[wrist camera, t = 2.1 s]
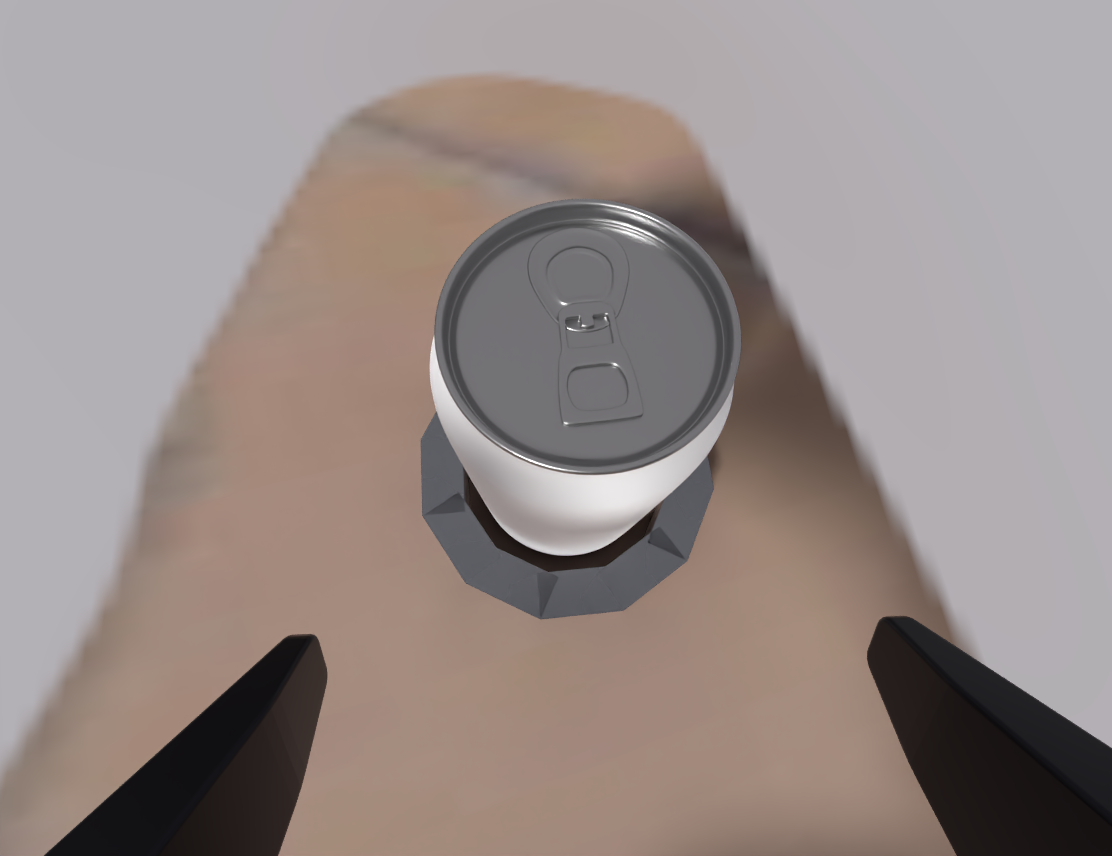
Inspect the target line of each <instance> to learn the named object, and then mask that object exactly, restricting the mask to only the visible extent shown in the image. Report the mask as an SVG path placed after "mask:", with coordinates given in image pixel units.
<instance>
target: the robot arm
mask: <svg viewBox="0 0 1112 856" xmlns="http://www.w3.org/2000/svg"><path fill="white" fill-rule="evenodd" d="M867 661H868V665H869V668H870V671H871V673H872V676H873V678H874V680H875V683H876V685H877V688H878V690H879V693H880V695H881V698H882V700H883V702H884V705H885V707H886V710H887V712H888V715H889V717H890V719H891V722H892V724H893V727H894V729H895V732H896V734H897V736H898V739H899V741H900V744H901V746H902V749H903V751H904V753H905V755H906V758H907V760H908V762H909V764H910V766H911V768H912V770H913V772H914V774H915V776H916V778H917V780H918V782H919V784H920V786H921V788H922V790H923V792H924V794H925V796H926V798H927V800H928V801H929V803H930V805H931V807H932V809H933V811H934V813H935V815H936V817H937V819H938V821H939V822H940V824H941V826H942V828H943V830H944V832H945V834H946V836H947V838H948V840H949V842H950V844H951V845H952V847H953V849H954V851H955V853H956V855H957V856H1112V748H1111V747H1109V746H1108V745H1106V744H1105V743H1103V742H1101V741H1100V740H1098V739H1097V738H1095V737H1094V736H1092V735H1091V734H1089V733H1088V732H1086V731H1085V730H1083V729H1081V728H1080V727H1079V726H1077V725H1075V724H1074V723H1072V722H1071V721H1069V720H1068V719H1066V718H1065V717H1063V716H1062V715H1060V714H1058V713H1057V712H1056V711H1054V710H1052V709H1051V708H1049V707H1048V706H1046V705H1045V704H1043V703H1042V702H1040V701H1039V700H1037V699H1036V698H1034V697H1033V696H1031V695H1029V694H1028V693H1026V692H1025V691H1023V690H1022V689H1020V688H1019V687H1017V686H1015V685H1014V684H1013V683H1011V682H1009V681H1008V680H1006V679H1005V678H1003V677H1002V676H1000V675H999V674H997V673H996V672H994V671H993V670H991V669H990V668H988V667H986V666H985V665H983V664H982V663H980V662H979V661H977V660H976V659H974V658H973V657H971V656H970V655H968V654H967V653H965V652H963V651H962V650H960V649H959V648H957V647H956V646H954V645H953V644H951V643H950V642H948V641H947V640H945V639H943V638H942V637H940V636H939V635H937V634H936V633H934V632H933V631H931V630H930V629H928V628H927V627H925V626H924V625H922V624H920V623H919V622H917V621H916V620H914V619H912V618H910V617H907V616H890V617H883V618H882V619H880V620H879V622H878V624H877V626H876V629H875V632H874V634H873V637H872V640H871V643H870V645H869V648H868V651H867ZM326 684H327V667H326V664H325V660H324V657H323V654H322V650H321V647H320V643H319V640H318V638H317V637H316V636H315V635H313V634H298V635H289V636H287V637H286V638H284V639H283V640H282V641H281V642H280V643H278V644H277V645H276V646H275V647H274V648H273V649H272V650H271V651H270V652H268V653H267V654H266V655H265V656H264V657H263V658H262V659H261V660H260V661H259V662H257V663H256V664H255V665H254V666H253V667H252V668H251V669H250V670H249V671H247V672H246V673H245V674H244V675H243V676H242V677H241V678H240V679H239V680H237V681H236V682H235V683H234V684H233V685H232V686H231V687H230V688H229V689H228V690H226V691H225V692H224V693H223V694H222V695H221V696H220V697H219V698H218V699H216V700H215V701H214V702H213V703H212V704H211V705H210V706H209V707H208V708H207V709H205V710H204V711H203V712H202V713H201V714H200V715H199V716H198V717H197V718H195V719H194V720H193V721H192V722H191V723H190V724H189V725H188V726H187V727H186V728H184V729H183V730H182V731H181V732H180V733H179V734H178V735H177V736H176V737H174V738H173V739H172V740H171V741H170V742H169V743H168V744H167V745H166V746H164V747H163V748H162V749H161V750H160V751H159V752H158V753H157V754H156V755H155V756H153V757H152V758H151V759H150V760H149V761H148V762H147V763H146V764H145V765H143V766H142V767H141V768H140V769H139V770H138V771H137V772H136V773H135V774H134V775H132V776H131V777H130V778H129V779H128V780H127V781H126V782H125V783H124V784H122V785H121V786H120V787H119V788H118V789H117V790H116V791H115V792H114V793H112V794H111V795H110V796H109V797H108V798H107V799H106V800H105V801H104V802H103V803H101V804H100V805H99V806H98V807H97V808H96V809H95V810H94V811H93V812H91V813H90V814H89V815H88V816H87V817H86V818H85V819H84V820H83V821H82V822H80V823H79V824H78V825H77V826H76V827H75V828H74V829H73V830H72V831H70V832H69V833H68V834H67V835H66V836H65V837H64V838H63V839H62V840H61V841H59V842H58V843H57V844H56V845H55V846H54V847H53V848H52V849H51V850H49V851H48V852H47V853H46V854H45V855H44V856H278V855H279V852H280V849H281V846H282V843H283V840H284V837H285V835H286V832H287V829H288V826H289V823H290V820H291V817H292V814H293V812H294V809H295V806H296V803H297V800H298V796H299V793H300V790H301V787H302V783H303V779H304V776H305V772H306V768H307V764H308V759H309V755H310V751H311V747H312V743H313V739H314V735H315V730H316V726H317V722H318V718H319V714H320V710H321V705H322V701H323V697H324V693H325V689H326Z"/></svg>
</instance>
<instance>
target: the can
mask: <svg viewBox="0 0 1112 856" xmlns="http://www.w3.org/2000/svg"><path fill="white" fill-rule="evenodd" d="M740 353H741V328H740V321H739V315H738V311H737V307H736V304H735V301H734V298H733V295H732V293H731V290H730V288H729V286H728V284H727V282H726V280H725V278H724V276H723V274H722V273H721V271H720V270H719V268H718V267H717V265H716V264H715V262H714V261H713V260H712V259H711V257H710V256H709V255H708V254H707V253H706V251H705V250H704V249H703V248H702V247H701V246H700V245H699V244H698V243H697V242H696V241H695V240H693V239H692V238H691V237H690V236H689V235H687V234H686V233H685V232H683V231H682V230H681V229H679V228H678V227H676V226H675V225H673V224H672V223H670V222H668V221H667V220H665V219H663V218H661V217H659V216H657V215H655V214H653V213H650V212H648V211H645V210H643V209H640V208H637V207H634V206H631V205H627V204H623V203H619V202H614V201H607V200H599V199H568V200H559V201H553V202H548V203H544V204H540V205H536V206H533V207H530V208H527V209H524V210H522V211H519V212H517V213H515V214H513V215H511V216H509V217H507V218H505V219H503V220H501V221H500V222H498V223H497V224H495V225H493V226H492V227H491V228H489V229H488V230H486V231H485V232H484V233H483V234H481V235H480V236H479V237H478V238H477V239H476V240H475V241H474V242H473V243H472V244H471V245H470V246H469V247H468V248H467V249H466V250H465V252H464V253H463V254H462V255H461V257H460V258H459V259H458V261H457V262H456V264H455V265H454V267H453V268H452V270H451V272H450V274H449V275H448V277H447V279H446V281H445V284H444V286H443V289H442V291H441V294H440V298H439V301H438V305H437V310H436V316H435V327H434V338H433V342H432V348H431V355H430V381H431V389H432V394H433V399H434V403H435V407H436V411H437V414H438V417H439V420H440V422H441V425H442V427H443V429H444V431H445V433H446V436H447V438H448V440H449V442H450V444H451V445H452V447H453V449H454V451H455V453H456V455H457V456H458V458H459V460H460V462H461V463H462V465H463V467H464V469H465V470H466V472H467V474H468V476H469V477H470V479H471V481H472V482H473V484H474V486H475V487H476V489H477V491H478V493H479V494H480V496H481V498H482V499H483V501H484V503H485V504H486V506H487V507H488V509H489V511H490V512H491V514H492V515H493V517H494V518H495V520H496V521H497V522H498V523H499V525H500V526H501V527H502V528H503V529H504V530H505V531H506V532H507V533H508V534H509V535H510V536H511V537H513V538H514V539H515V540H517V541H518V542H520V543H521V544H523V545H525V546H527V547H529V548H531V549H533V550H536V551H539V552H542V553H546V554H550V555H558V556H573V555H581V554H586V553H589V552H593V551H595V550H598V549H600V548H603V547H605V546H606V545H608V544H610V543H611V542H613V541H615V540H616V539H617V538H619V537H620V536H621V535H623V534H624V533H625V532H626V531H628V530H629V529H630V528H631V527H632V526H634V525H635V524H636V523H637V522H638V521H639V520H641V519H642V518H643V517H644V516H645V515H646V514H648V513H649V512H650V511H651V510H652V509H653V508H654V507H656V506H657V505H658V504H659V503H660V502H661V501H662V500H664V499H665V498H666V497H667V496H668V495H669V494H670V493H672V492H673V491H674V490H675V489H676V488H677V487H678V486H679V485H680V484H681V483H682V482H683V481H684V480H686V479H687V478H688V477H689V476H690V474H691V473H692V472H693V471H694V470H695V469H696V468H697V467H698V466H699V465H700V464H701V462H702V461H703V460H704V459H705V457H706V456H707V455H708V453H709V452H710V450H711V449H712V447H713V445H714V444H715V442H716V440H717V439H718V437H719V435H720V433H721V431H722V429H723V427H724V425H725V422H726V419H727V417H728V414H729V410H730V407H731V402H732V397H733V390H734V381H735V378H736V374H737V370H738V366H739V360H740Z"/></svg>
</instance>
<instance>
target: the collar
mask: <svg viewBox="0 0 1112 856" xmlns="http://www.w3.org/2000/svg"><path fill="white" fill-rule="evenodd" d="M421 475H422V516H423V517H424V519H425V521H426V522H427V524H428V525H429V527H430V528H431V530H432V532H433V533H434V535H435V536H436V538H437V539H438V541H439V542H440V544H441V546H442V547H443V549H444V550H445V552H446V553H447V555H448V557H449V558H450V560H451V561H452V563H453V564H454V566H455V567H456V569H457V571H458V572H459V574H460V575H461V577H462V578H463V580H464V581H465V583H466V584H468V585H470V586H472V587H475V588H477V589H479V590H481V591H483V592H485V593H487V594H489V595H491V596H493V597H495V598H497V599H499V600H501V601H504V602H506V603H508V604H510V605H512V606H514V607H516V608H518V609H520V610H522V611H524V612H526V613H528V614H531V615H533V616H535V617H537V618H539V619H548V618H558V617H567V616H577V615H587V614H596V613H606V612H615V611H624V610H625V609H626V608H627V607H629V606H630V605H631V604H633V603H634V602H635V601H636V600H638V599H639V598H640V597H642V596H643V595H644V594H645V593H647V592H648V591H649V590H651V589H652V588H653V587H654V586H656V585H657V584H658V583H660V582H661V581H662V580H663V579H665V578H666V577H667V576H669V575H670V574H671V573H672V572H674V571H675V570H676V569H678V568H679V567H680V566H681V565H683V564H684V563H685V562H687V560H688V558H689V555H690V552H691V549H692V547H693V544H694V541H695V538H696V536H697V533H698V530H699V528H700V525H701V522H702V519H703V517H704V514H705V511H706V509H707V506H708V503H709V500H710V498H711V495H712V492H713V490H714V487H713V481H712V476H711V471H710V466H709V460H708V455H707V456H706V457H705V459H704V460H703V461H702V462H701V464H700V465H699V466H698V467H697V468H696V469H695V470H694V471H693V472H692V473H691V474H690V476H689V477H688V478H687V479H686V480H684V481H683V482H682V483H681V484H680V485H679V486H678V487H677V488H676V489H675V490H674V491H673V492H672V493H670V494H669V495H668V496H667V497H666V498H665V499H664V500H662V501H661V502H660V503H659V504H658V505H657V506H656V508H655V510H654V513H653V516H652V518H651V521H650V523H649V526H648V528H647V531H646V533H645V536H644V537H643V538H642V539H641V540H639V541H638V542H637V543H635V544H634V545H633V546H631V547H630V548H629V549H627V550H626V551H625V552H624V553H622V554H621V555H620V556H618V557H617V558H616V559H614V560H613V561H612V562H610V563H609V564H608V565H606V566H604V567H594V568H584V569H574V570H564V571H554V572H547V571H545V570H543V569H541V568H539V567H536V566H534V565H532V564H530V563H528V562H526V561H524V560H522V559H519V558H517V557H515V556H513V555H511V554H509V553H507V552H505V551H502V550H500V549H498V548H497V547H496V546H495V544H494V543H493V541H492V540H491V538H490V537H489V535H488V534H487V532H486V531H485V529H484V528H483V526H482V525H481V523H480V522H479V520H478V519H477V517H476V516H475V514H474V513H473V511H472V510H471V508H470V498H469V478H468V474H467V472H466V470H465V469H464V467H463V465H462V463H461V462H460V460H459V458H458V456H457V455H456V453H455V451H454V449H453V447H452V445H451V444H450V442H449V440H448V438H447V436H446V433H445V431H444V429H443V427H442V425H441V422H440V420H439V417H438V414H437V411H436V413H435V415H434V417H433V419H432V420H431V422H430V424H429V426H428V428H427V429H426V431H425V433H424V435H423V437H422V438H421Z"/></svg>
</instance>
